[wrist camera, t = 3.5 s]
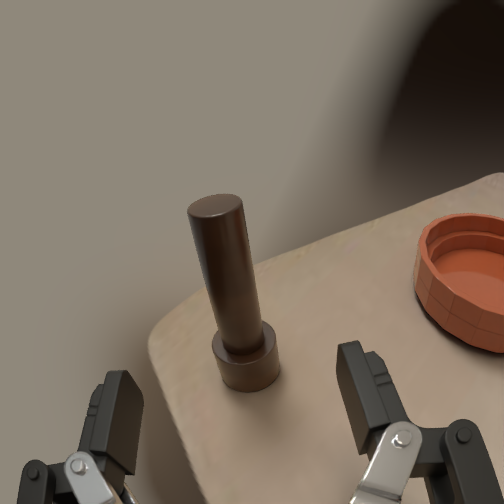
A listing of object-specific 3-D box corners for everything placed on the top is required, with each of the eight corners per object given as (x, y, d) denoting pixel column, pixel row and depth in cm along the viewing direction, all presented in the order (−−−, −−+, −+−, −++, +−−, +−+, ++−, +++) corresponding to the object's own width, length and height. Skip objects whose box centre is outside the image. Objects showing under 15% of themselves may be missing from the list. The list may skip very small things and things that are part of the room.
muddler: (210, 365, 22) (160, 208, 16) (257, 338, 24) (229, 182, 17) (241, 402, 19) (193, 234, 13) (291, 370, 21) (275, 200, 14)
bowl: (379, 297, 25) (383, 257, 23) (454, 232, 32) (459, 200, 29) (531, 391, 14) (557, 352, 12) (565, 286, 20) (577, 252, 18)
